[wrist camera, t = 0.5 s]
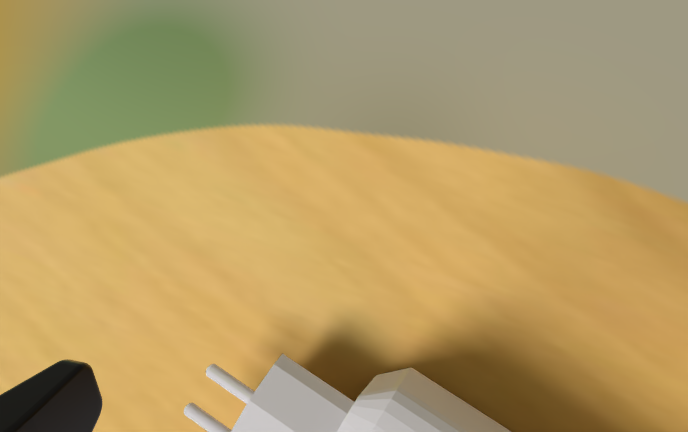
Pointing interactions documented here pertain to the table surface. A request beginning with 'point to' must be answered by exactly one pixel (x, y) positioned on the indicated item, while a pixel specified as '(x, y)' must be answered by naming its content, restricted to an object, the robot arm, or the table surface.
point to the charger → (343, 404)
